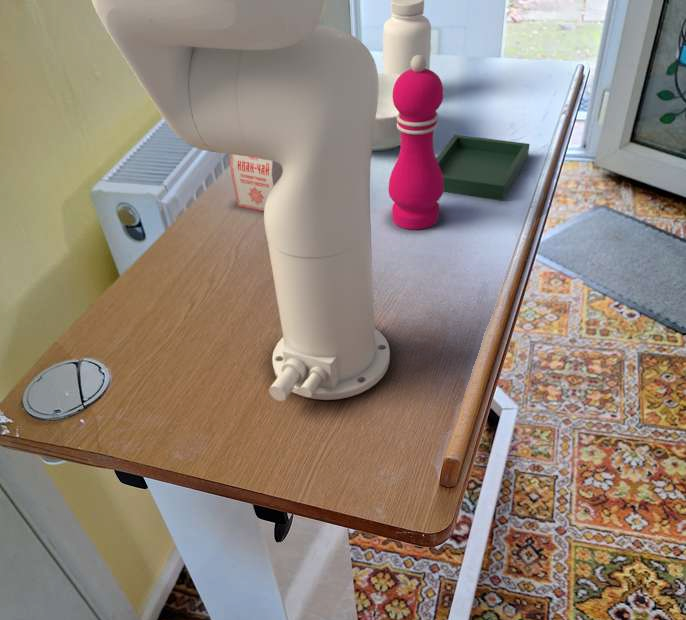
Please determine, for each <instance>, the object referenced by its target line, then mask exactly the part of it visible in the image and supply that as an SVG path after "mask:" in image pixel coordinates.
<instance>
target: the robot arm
mask: <svg viewBox="0 0 686 620" xmlns="http://www.w3.org/2000/svg"><path fill="white" fill-rule="evenodd" d="M91 3H92V5H93V8H94V10H95V13H96V14H97V16H98V18H99V21H101V22H100V23H101V24H102V25H103V27H104V29H105V30H106V32H107V34H108V35H109V37H110V38H111V40H112V42H113V43H114V45H115V46H116V49H118V51H119V53H120V55H121V56H122V58H123V59H124V60H125V62H126V64H127V65H128V67H129V68H130V70H131V71H132V73H133V74H134V76H135V77H136V79H137V81H138V82H139V84H140V85H141V87H142V88H143V90H144V92H145V93H146V95H147V96H148V98H149V99H150V101H151V102H152V103H153V105H154V107H155V108H156V110H157V111H158V113H159V114H160V116H161V117H162V119H163V120H164V121H165V122H166V124H167V125H168V127H169V128H170V129H171V131H172V132H173V133H174V134H175V135H176V136H177V137H178V138H179V139H180V140H181V141H182V142H184V143H185V144H187V145H189V146H191V147H193V148H195V149H198V150H201V151H206V152H212V153H217V154H225V155H231V154H233V155H241V156H249V157H257V158H260V159H264V160H270V161H275V162H277V163H279V164H280V165H281V166H282V169H283V173H282V176H281V177H280V179H279V180H278V181H277V183H276V184H275V185H274V187H273V188H272V190H271V191H270V193H269V195H268V197H267V200H266V203H265V208H264V211H263V223H264V230H265V237H266V240H267V247H268V252H269V253H268V254H269V258H270V264H271V271H272V276H273V283H274V290H275V295H276V302H277V307H278V311H279V312H278V314H279V319H280V325H281V326H280V327H281V332H282V337H281V338H280V339H279V341H278V342H277V343H276V345H275V347H274V349H273V352H272V359H271V360H272V367H273V371H274V375H275V377H276V379H275V380H274V381H273V382H272V384H271V385H270V387H269V388H268V393H269V395H270V396H271V397H272V398H273V399H274V400H276V401H277V402H284V401H286V400H287V398H288V397H289V396H290V394H291V393H293V394H296V395H298V396H301V397H302V398H303V397H304V398H308V399H313V400H320V401H321V400H323V401H332V400H333V401H335V400H342V399H347V398H350V397H354V396H357V395H360V394H361V393H363V392H365V391H367V390H370V389H371V388H372V387H373V386H375V385H376V384H377V383H379V382H380V381H381V379H382V378H383V377H384V376H385V375H386V373H387V371H388V369H389V365H390V361H391V359H390V358H391V351H390V345H389V343H388V340H387V338H386V337H385V336H384V335H383V334H382V333H381V331H379V330H378V329H377V328H376V327H375V309H374V307H375V305H374V276H373V252H372V251H373V250H372V225H371V222H372V221H371V164H372V163H371V162H372V152H373V151H372V143H373V135H374V127H375V120H376V112H377V105H378V92H379V90H378V74H379V73H378V69H377V68H378V67H377V64H376V61H375V58H374V57H373V55H372V53H371V51H370V50H369V48H368V47H367V46H366V45H365V44H364V43H363V42H362V41H361V40H359V38H357V37H356V36H354V35H352V34H350V33H348V32H346V31H343V30H342V29H337V28H335V27H331V26H325V25H320V23H321V21H322V19H323V18H324V14H325V10H326V6H327V3H328V1H327V0H91Z"/></svg>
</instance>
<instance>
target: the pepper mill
mask: <svg viewBox="0 0 686 620" xmlns="http://www.w3.org/2000/svg"><path fill="white" fill-rule="evenodd" d="M425 67H426V60H425V58H424V57H423V56H422V55H416V56H414V57H413V58H412V60H411V68H412V69H410V70H407V71H405V72H404V73H403V74H401V75H400V76H399V77H398V79H397V80H396V82H395V84H394V88H393V96H392V97H393V103H394V106H395V108H396V109H397V110H398V111H399V113H398V115H397V121H398V122H397V128H398V130H400V133H401V145H400V149H399V155H398V157H397V159H396V161H395V164H394V165H393V168H392V170H391V173H390V176H389V180H388V187H387V188H388V195H389V197H390V199H391V200H392V201H393V204H392V205H391V213H392V214H391V215H392V217H391V219H392V222H393V223H394V224H395V225H396V226H397V227H399V228H401V229H405V230H412V231H415V230H416V231H419V230H425V229H428V228H430V227H432V226H434V225H435V224H437V222H438V220H439V216H440V215H439V214H440V205H439V202H438V201H439V200H440V199H441V198H442V197H443V194H444V191H443V190H444V186H443V176H442V173H441V169H440V167H439V164H438V162H437V160H436V158H437V157H436V155H435V154H436V153H435V150H434V133H435V130H436V129H437V128H438V126H439V121H438V119H439V114H438V112H437V111H438V109H439V108H440V106H441V105H442V102H443V100H444V87H443V82H442V79H441V78H440V76H439V75H438V74H437V73H435V71H434V70H431V69H430V68H429V69H425Z"/></svg>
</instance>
